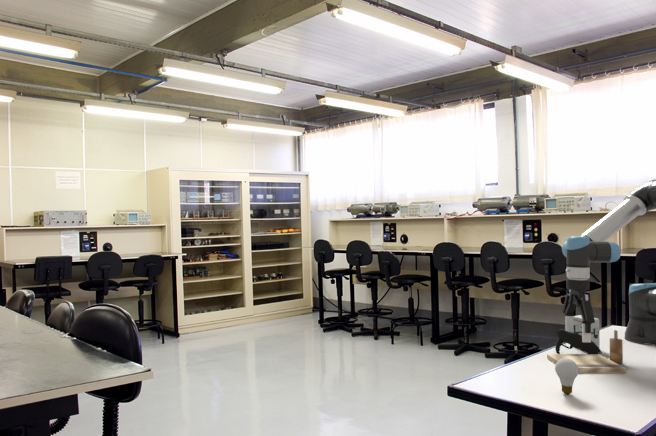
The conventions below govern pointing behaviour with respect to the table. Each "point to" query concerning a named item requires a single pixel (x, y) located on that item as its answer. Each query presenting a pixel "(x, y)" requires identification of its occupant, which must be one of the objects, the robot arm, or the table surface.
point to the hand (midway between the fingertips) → (577, 337)
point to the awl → (616, 349)
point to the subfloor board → (590, 363)
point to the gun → (575, 342)
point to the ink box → (594, 329)
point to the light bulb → (566, 374)
